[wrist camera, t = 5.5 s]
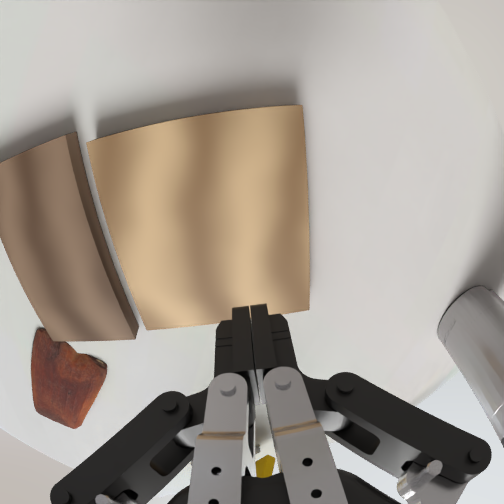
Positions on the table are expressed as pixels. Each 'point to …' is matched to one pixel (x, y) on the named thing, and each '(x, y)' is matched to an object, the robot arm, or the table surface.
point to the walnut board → (61, 245)
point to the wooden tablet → (64, 380)
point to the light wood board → (209, 213)
